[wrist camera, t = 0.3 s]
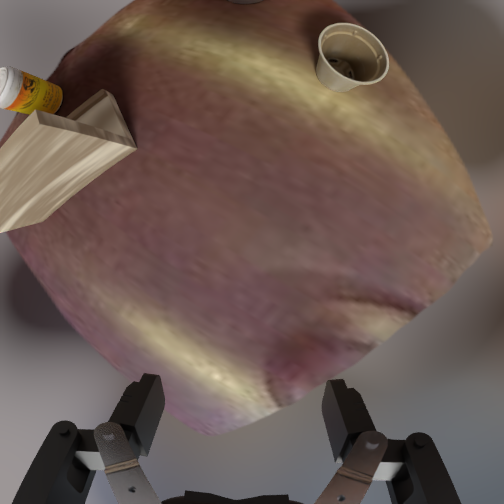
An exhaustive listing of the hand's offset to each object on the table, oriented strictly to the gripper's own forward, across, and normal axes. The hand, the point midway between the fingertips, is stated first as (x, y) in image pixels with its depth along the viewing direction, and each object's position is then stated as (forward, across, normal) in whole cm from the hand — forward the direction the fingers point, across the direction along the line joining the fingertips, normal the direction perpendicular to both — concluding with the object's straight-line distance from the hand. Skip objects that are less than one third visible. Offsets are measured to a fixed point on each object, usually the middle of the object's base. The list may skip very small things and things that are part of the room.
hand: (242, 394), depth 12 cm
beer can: (+29, +35, -26) cm, 52 cm away
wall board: (+29, +29, -14) cm, 43 cm away
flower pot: (+30, -12, -27) cm, 42 cm away
